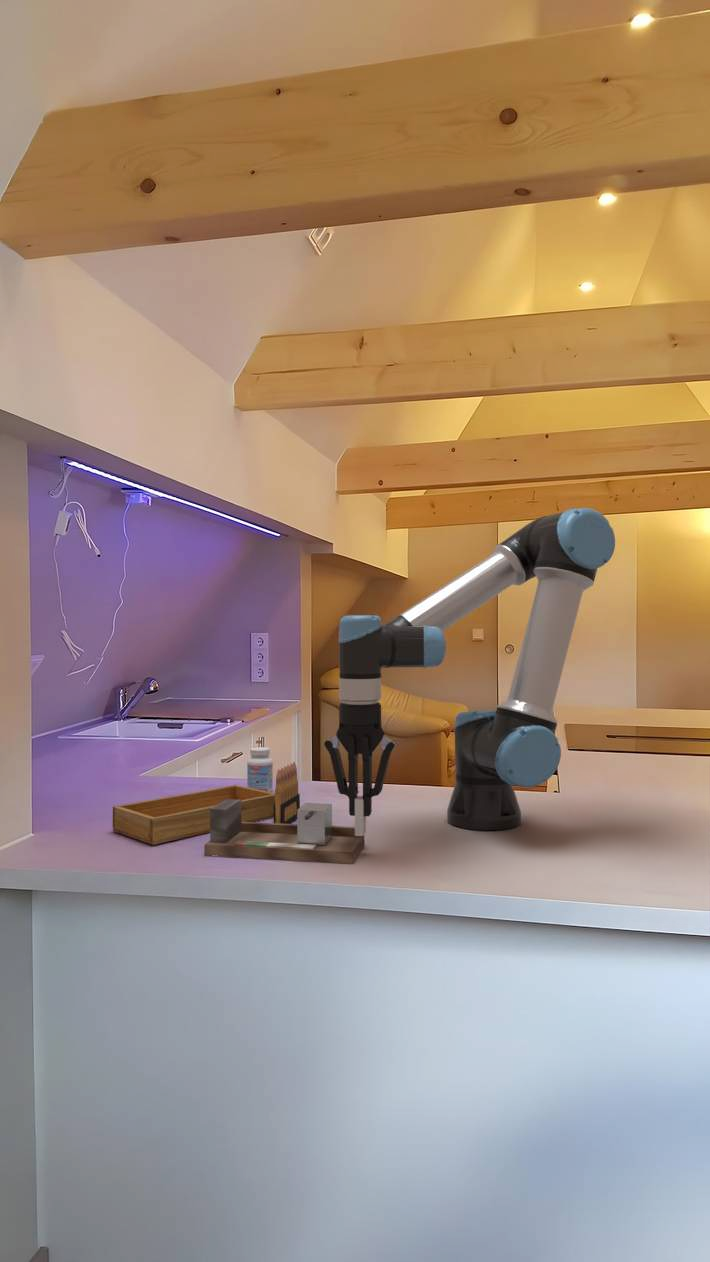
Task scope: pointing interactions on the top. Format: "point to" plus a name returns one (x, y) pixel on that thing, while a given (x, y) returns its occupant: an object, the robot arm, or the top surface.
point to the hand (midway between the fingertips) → (360, 833)
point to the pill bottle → (260, 770)
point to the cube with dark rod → (314, 823)
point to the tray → (187, 813)
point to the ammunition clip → (286, 795)
